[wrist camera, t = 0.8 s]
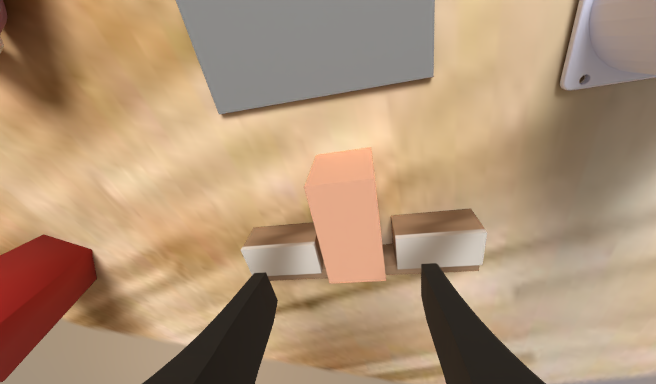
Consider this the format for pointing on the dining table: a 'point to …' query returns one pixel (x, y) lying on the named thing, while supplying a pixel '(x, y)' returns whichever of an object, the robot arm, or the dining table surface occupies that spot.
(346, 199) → the salmon pillar
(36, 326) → the french fries
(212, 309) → the dining table surface
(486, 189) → the dining table surface
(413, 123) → the dining table surface
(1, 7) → the video game controller
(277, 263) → the brown u-shaped block
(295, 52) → the slate pad
